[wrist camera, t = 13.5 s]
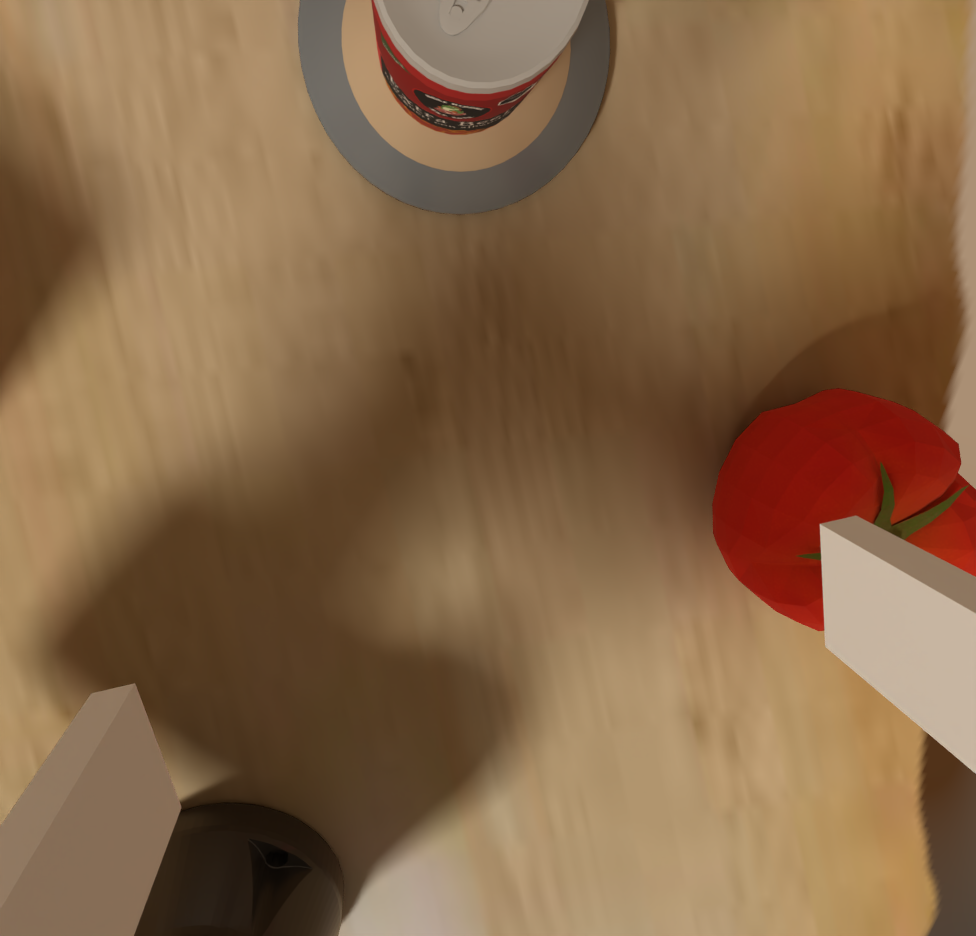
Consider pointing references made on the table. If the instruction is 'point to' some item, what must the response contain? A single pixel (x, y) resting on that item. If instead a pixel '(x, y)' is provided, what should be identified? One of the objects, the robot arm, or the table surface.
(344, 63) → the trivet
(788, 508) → the tomato
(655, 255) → the table surface
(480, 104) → the canned food
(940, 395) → the table surface
